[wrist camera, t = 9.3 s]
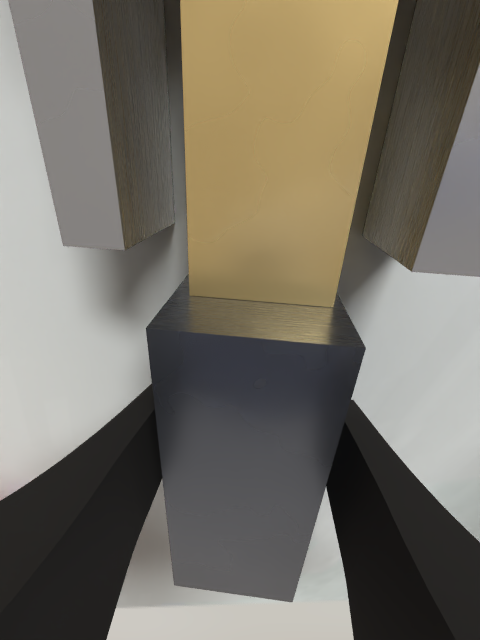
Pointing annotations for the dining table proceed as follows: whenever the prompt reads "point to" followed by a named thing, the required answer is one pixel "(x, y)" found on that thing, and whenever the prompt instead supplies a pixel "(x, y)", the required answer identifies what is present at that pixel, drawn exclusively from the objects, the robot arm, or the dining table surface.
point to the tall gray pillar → (247, 433)
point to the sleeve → (155, 144)
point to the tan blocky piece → (277, 140)
